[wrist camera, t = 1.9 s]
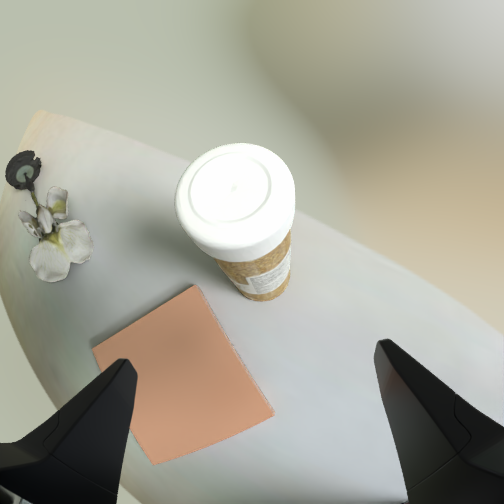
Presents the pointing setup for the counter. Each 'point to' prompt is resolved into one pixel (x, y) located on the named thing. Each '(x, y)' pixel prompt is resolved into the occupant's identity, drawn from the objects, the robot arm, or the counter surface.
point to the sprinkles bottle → (241, 215)
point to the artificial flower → (49, 224)
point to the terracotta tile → (184, 379)
